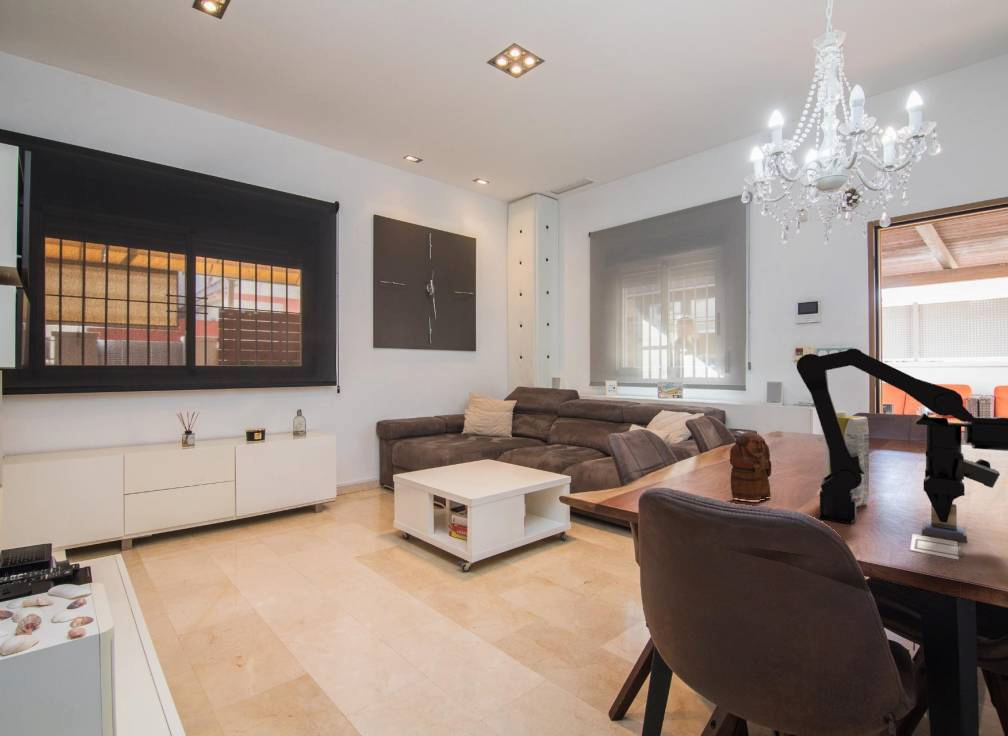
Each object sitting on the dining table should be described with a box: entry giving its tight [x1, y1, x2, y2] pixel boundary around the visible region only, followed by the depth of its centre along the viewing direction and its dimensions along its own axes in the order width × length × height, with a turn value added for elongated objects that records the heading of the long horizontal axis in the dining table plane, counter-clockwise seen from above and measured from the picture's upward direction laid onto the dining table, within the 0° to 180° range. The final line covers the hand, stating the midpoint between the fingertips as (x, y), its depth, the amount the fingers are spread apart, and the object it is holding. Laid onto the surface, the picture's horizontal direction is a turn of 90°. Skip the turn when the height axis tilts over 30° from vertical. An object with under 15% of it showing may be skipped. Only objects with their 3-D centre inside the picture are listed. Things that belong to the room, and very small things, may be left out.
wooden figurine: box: [729, 432, 772, 500], centre depth 135 cm, size 12×6×18 cm, turn 119°
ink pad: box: [921, 520, 968, 543], centre depth 107 cm, size 7×7×2 cm
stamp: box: [930, 503, 958, 530], centre depth 107 cm, size 4×4×6 cm
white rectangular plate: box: [909, 533, 962, 560], centre depth 99 cm, size 7×12×1 cm, turn 139°
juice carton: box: [824, 411, 870, 508], centre depth 130 cm, size 9×8×24 cm
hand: (943, 519), depth 107 cm, fingers closed on stamp, 4 cm apart
